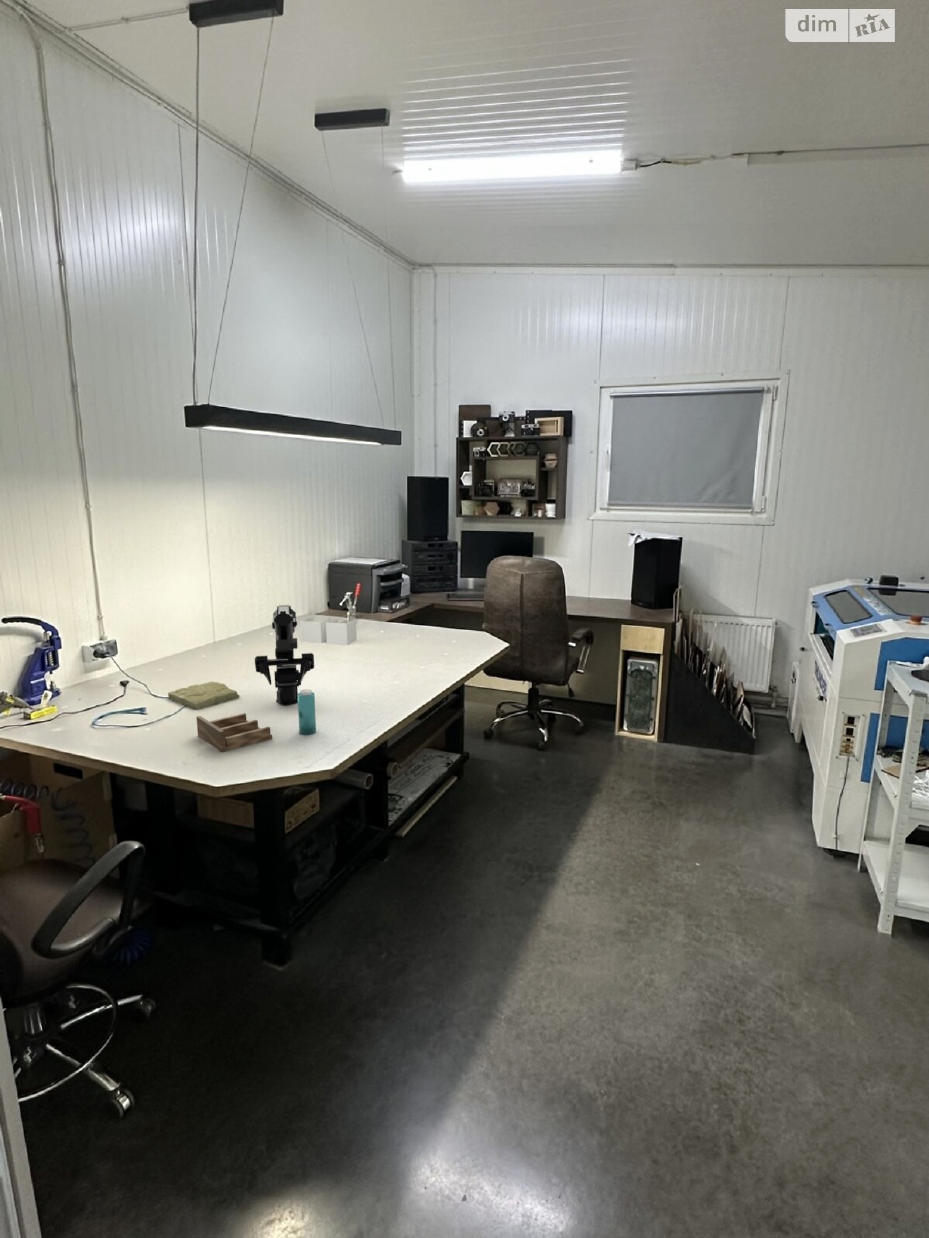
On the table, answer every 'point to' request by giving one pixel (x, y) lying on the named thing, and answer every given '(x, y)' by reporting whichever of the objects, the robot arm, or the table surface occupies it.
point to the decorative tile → (203, 695)
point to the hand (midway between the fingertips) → (285, 683)
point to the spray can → (306, 712)
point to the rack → (231, 732)
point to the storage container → (328, 631)
